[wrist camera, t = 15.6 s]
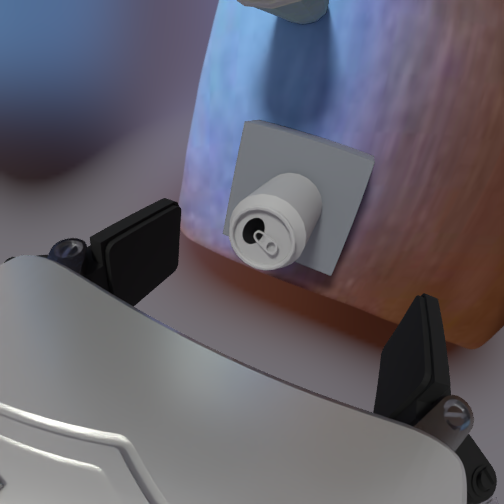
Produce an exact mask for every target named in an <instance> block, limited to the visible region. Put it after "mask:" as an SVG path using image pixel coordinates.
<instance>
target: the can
mask: <svg viewBox="0 0 504 504" xmlns="http://www.w3.org/2000/svg"><path fill="white" fill-rule="evenodd" d="M321 210H322V200H321V195H320V193H319V191H318V189H317V187H316V186H315V185H314V184H313V183H312V182H311V181H310V180H309V179H308V178H306V177H304V176H302V175H300V174H295V173H284V174H279V175H278V176H276V177H274V178H272V179H271V180H269V181H268V182H267V183H265V184H264V185H262V186H261V187H260V188H258V189H257V190H255V191H254V192H253V193H251V194H250V195H249V196H247V197H246V198H245V199H243V200H242V201H240V203H239V204H238V205H237V206H236V207H235V209H234V210H233V213H232V215H231V218H230V227H229V239H230V242H231V245H232V248H233V249H234V251H235V253H236V254H237V256H238V257H239V258H240V259H241V260H242V261H244V262H245V263H246V264H248V265H250V266H252V267H253V268H256V269H261V270H275V269H277V268H283V267H285V266H288V265H290V264H292V263H293V262H294V261H295V260H296V259H298V258H299V257H300V255H301V253H302V251H303V249H304V247H305V245H306V243H307V241H308V239H309V237H310V235H311V233H312V231H313V229H314V227H315V225H316V223H317V221H318V219H319V217H320V215H321Z"/></svg>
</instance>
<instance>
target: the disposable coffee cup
mask: <svg viewBox="0 0 504 504" xmlns="http://www.w3.org/2000/svg"><path fill="white" fill-rule="evenodd" d="M237 1H238V2H240V3H241V4H243V5H244V6H250V7H255V8H258V9H260V10H263V11H266V12H268V13H271V14H273V15H275V16H278V17H280V18H283V19H285V20H287V21H289V22H294V23H299V24H307V23H311V22H315V21H317V20H318V19H320V18H321V17H322V16H323V15H324V14H326V11H327V7H328V4H329V0H237Z"/></svg>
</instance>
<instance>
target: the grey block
mask: <svg viewBox="0 0 504 504" xmlns="http://www.w3.org/2000/svg"><path fill="white" fill-rule="evenodd" d="M374 163H375V161H374V156H372V155H369V154H367V153H364V152H362V151H359V150H356V149H353V148H351V147H348V146H345V145H342V144H339V143H336V142H333V141H330V140H327V139H324V138H321V137H318V136H315V135H312V134H308V133H305V132H302V131H298V130H295V129H291V128H288V127H284V126H281V125H277V124H273V123H269V122H266V121H262V120H253V121H245V123H244V128H243V133H242V137H241V142H240V147H239V152H238V157H237V162H236V167H235V172H234V177H233V182H232V187H231V193H230V198H229V203H228V208H227V214H226V219H225V225H224V230H223V234H224V235H227V236H229V227H230V218H231V215H232V213H233V210H234V209H235V207H236V206H237V205H238V204H239V203H240V201H242V200H243V199H245V198H246V197H247V196H249V195H250V194H251V193H253V192H254V191H255V190H257V189H258V188H260V187H261V186H262V185H264V184H265V183H267V182H268V181H269V180H271V179H272V178H274V177H276V176H278V175H279V174H284V173H295V174H300V175H302V176H304V177H306V178H308V179H309V180H310V181H311V182H312V183H313V184H314V185H315V186H316V187H317V189H318V191H319V193H320V195H321V200H322V210H321V215H320V217H319V219H318V221H317V223H316V225H315V227H314V229H313V231H312V233H311V235H310V237H309V239H308V241H307V243H306V245H305V247H304V249H303V251H302V253H301V255H300V257H299V258H298V259H296V260H295V261H294V262H296V263H299V264H302V265H304V266H307V267H309V268H312V269H314V270H317V271H320V272H322V273H325V274H327V275H330V276H331V275H332V272H333V270H334V268H335V265H336V263H337V261H338V258H339V256H340V253H341V251H342V249H343V246H344V244H345V241H346V239H347V236H348V234H349V231H350V229H351V226H352V224H353V221H354V218H355V216H356V213H357V210H358V208H359V205H360V202H361V200H362V197H363V194H364V191H365V189H366V186H367V183H368V180H369V177H370V174H371V172H372V169H373V166H374Z"/></svg>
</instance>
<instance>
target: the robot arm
mask: <svg viewBox="0 0 504 504" xmlns="http://www.w3.org/2000/svg"><path fill="white" fill-rule="evenodd" d="M180 222H181V208H180V207H179V205H178V203H177V202H175V201H172V200H169V199H166V198H164V199H161V200H159V201H157V202H155V203H153V204H151V205H149V206H147V207H145V208H143V209H141V210H139V211H138V212H135V213H134V214H131V215H130V216H128V217H126V218H124V219H122V220H120V221H118V222H117V223H115V224H113V225H111V226H109V227H107V228H105V229H104V230H102V231H100V232H98V233H96V234H95V235H93V236H91V237H90V243H91V245H90V246H88V247H87V244H86V243H85V241H83V240H81V239H78V238H68V239H64V240H61V241H59V242H57V243H56V244H55V245H53V247H52V248H51V250H50V252H49V255H39V256H32V255H24V256H23V255H22V256H18V257H11V258H9V259H7V260H6V262H4V263H3V264H1V265H0V504H498V500H497V497H495V498H492V495H493V493H494V491H495V488H496V482H497V480H496V474H495V471H494V469H493V467H492V466H491V464H490V463H489V462H488V460H487V459H486V457H485V456H484V454H483V453H482V452H481V450H480V449H479V447H478V446H477V445H476V443H475V442H474V440H473V439H472V438H471V436H470V435H469V432H470V431H471V429H472V427H473V423H474V417H473V413H472V410H471V408H470V406H469V405H468V403H467V402H466V401H465V400H463V399H462V398H460V397H458V396H455V395H451V390H450V376H449V366H448V357H447V350H446V342H445V336H444V330H443V324H442V318H441V313H440V307H439V303H438V299H437V298H435V297H432V296H430V295H427V294H425V293H424V294H422V295H421V296H419V295H418V296H416V297H415V299H414V301H413V302H412V304H411V306H410V307H409V309H408V311H407V312H406V314H405V316H404V317H403V319H402V320H401V322H400V324H399V325H398V327H397V328H396V330H395V332H394V333H393V335H392V336H391V337H390V339H389V340H388V342H387V343H386V345H385V346H384V349H383V351H382V354H381V361H380V370H379V378H378V386H377V393H376V399H375V405H374V412H373V413H372V412H369V411H366V410H363V409H360V408H357V407H354V406H351V405H348V404H346V403H343V402H340V401H337V400H334V399H332V398H329V397H326V396H323V395H320V394H318V393H315V392H312V391H310V390H307V389H305V388H302V387H300V386H297V385H294V384H292V383H289V382H287V381H284V380H282V379H279V378H277V377H275V376H272V375H270V374H268V373H265V372H263V371H261V370H258V369H256V368H254V367H252V366H249V365H247V364H245V363H243V362H240V361H238V360H236V359H234V358H232V357H229V356H227V355H225V354H223V353H221V352H219V351H216V350H215V349H213V348H210V347H209V346H206V345H204V344H202V343H200V342H198V341H196V340H194V339H192V338H190V337H188V336H187V335H185V334H183V333H181V332H179V331H177V330H175V329H173V328H171V327H169V326H168V325H166V324H164V323H162V322H160V321H158V320H156V319H155V318H153V317H151V316H149V315H147V314H146V313H144V312H142V311H140V310H138V309H137V308H135V307H134V306H135V305H136V304H137V303H138V302H139V301H141V299H143V298H144V297H145V296H146V295H148V294H149V293H150V292H151V291H152V290H153V289H154V288H156V287H157V286H158V285H159V284H160V283H162V282H163V281H164V280H165V279H166V278H167V277H169V276H170V275H171V274H172V273H173V272H174V271H175V270H176V269H177V266H178V256H179V236H180Z"/></svg>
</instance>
